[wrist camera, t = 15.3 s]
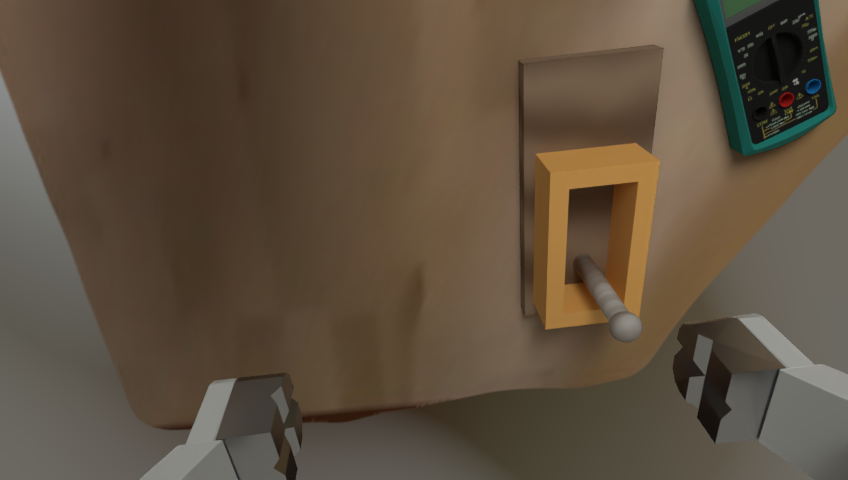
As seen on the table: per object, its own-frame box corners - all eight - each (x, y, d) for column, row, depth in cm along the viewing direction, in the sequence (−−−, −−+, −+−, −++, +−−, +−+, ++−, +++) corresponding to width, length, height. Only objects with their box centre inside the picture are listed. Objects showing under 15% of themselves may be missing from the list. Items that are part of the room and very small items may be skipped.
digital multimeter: (728, 154, 44) (750, 167, 41) (683, -22, 37) (706, -20, 35) (816, 110, 43) (845, 121, 40) (786, -79, 36) (818, -82, 33)
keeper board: (518, 60, 38) (568, 98, 28) (653, 44, 39) (752, 77, 28) (521, 306, 49) (558, 398, 39) (627, 292, 49) (692, 381, 39)
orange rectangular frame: (535, 153, 40) (550, 173, 37) (635, 142, 41) (660, 160, 37) (533, 301, 47) (545, 329, 44) (619, 291, 47) (638, 318, 44)
